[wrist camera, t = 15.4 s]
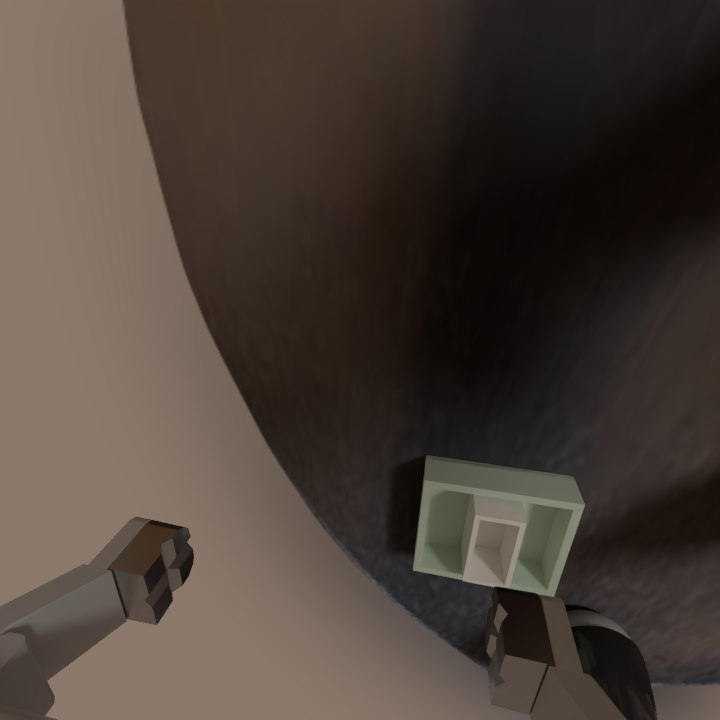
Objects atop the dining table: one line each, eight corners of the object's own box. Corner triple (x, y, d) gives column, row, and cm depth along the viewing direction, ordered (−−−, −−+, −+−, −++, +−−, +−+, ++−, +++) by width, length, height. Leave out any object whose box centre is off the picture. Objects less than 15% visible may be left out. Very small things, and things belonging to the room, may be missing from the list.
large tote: (573, 476, 41) (584, 504, 38) (545, 564, 47) (553, 597, 43) (426, 455, 44) (424, 479, 40) (415, 541, 49) (413, 570, 45)
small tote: (518, 486, 42) (526, 523, 38) (503, 549, 46) (508, 589, 42) (472, 479, 43) (475, 514, 39) (461, 541, 47) (462, 580, 42)
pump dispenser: (559, 582, 47) (603, 747, 34) (647, 616, 47) (729, 797, 33) (518, 632, 52) (543, 795, 38) (598, 663, 51) (652, 839, 38)
